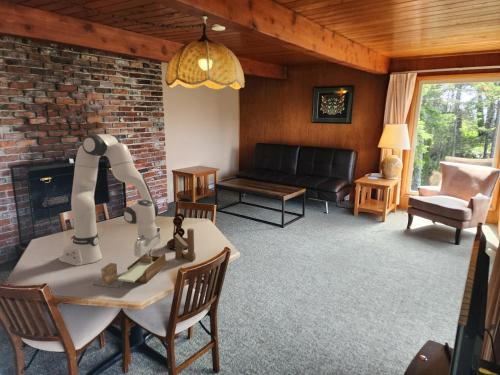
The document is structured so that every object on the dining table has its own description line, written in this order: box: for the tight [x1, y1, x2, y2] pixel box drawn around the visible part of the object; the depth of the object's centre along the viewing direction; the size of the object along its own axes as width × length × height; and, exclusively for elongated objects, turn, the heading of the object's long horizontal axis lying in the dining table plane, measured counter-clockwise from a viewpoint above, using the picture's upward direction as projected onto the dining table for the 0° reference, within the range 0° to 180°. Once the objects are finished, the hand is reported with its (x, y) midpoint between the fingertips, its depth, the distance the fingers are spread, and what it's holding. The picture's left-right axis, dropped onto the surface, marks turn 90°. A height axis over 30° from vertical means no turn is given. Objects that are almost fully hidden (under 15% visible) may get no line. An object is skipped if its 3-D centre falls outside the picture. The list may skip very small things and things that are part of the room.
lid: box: [118, 256, 154, 283], centre depth 168 cm, size 8×20×4 cm, turn 167°
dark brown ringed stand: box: [166, 212, 188, 250], centre depth 211 cm, size 15×15×20 cm
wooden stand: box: [174, 228, 196, 262], centre depth 193 cm, size 4×11×18 cm, turn 78°
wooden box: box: [127, 252, 167, 284], centre depth 178 cm, size 10×20×7 cm, turn 167°
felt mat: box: [93, 277, 127, 289], centre depth 168 cm, size 13×7×1 cm, turn 77°
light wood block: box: [100, 262, 119, 286], centre depth 167 cm, size 4×7×8 cm, turn 167°
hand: (148, 257), depth 178 cm, fingers closed
